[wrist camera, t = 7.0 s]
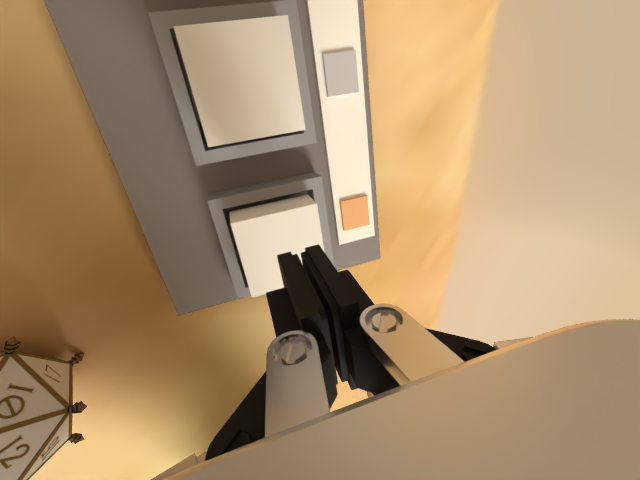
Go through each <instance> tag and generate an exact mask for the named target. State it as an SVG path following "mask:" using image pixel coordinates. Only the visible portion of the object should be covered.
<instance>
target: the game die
mask: <svg viewBox="0 0 640 480" xmlns="http://www.w3.org/2000/svg"><path fill="white" fill-rule="evenodd" d="M18 344H20V342H18V341H17V340H16V338H15V337H14V336H13V337H12V338H11V339H9V340H8V341H6V343H5V348H4V350H6V351H5V352H0V480H29V479H30V478H31V477H32V476H33V475H34V474H35V473H36V472H37V471H38V470H39V469H40V468H41V467H42V466H43V465H44V464H45V463H46V462H47V461H48V460H49V459H50V458H51V457H52V456H53V455H54V454H55V453H56V452H57V451H58V450H59V449H60V448H61V447H62V446H63V445H64V444H65V443H66V442H67V441H68V440H69V441H71V443H72V442H74V443H75V444H76V443H77V442H79V441H82V440H84V438H83V436H82V434H78V433H74V434H72V413H82V411H83V410H84V409H85V408H86V407H87V405H85V404H83V402H82V401H81V402H79V403H77V402H76V403H75V404H74V405H73V375H72V366H73V365H74V364H76V363H79V361H82V358H83V356H84V353H83V354H75V356H74V357H72V359H71V360H70V361H63V360H58V359H53V358H47V357H42V356H37V355H32V354H27V353H22V352H17V351H15V349H16V348H18V347H19V346H18Z"/></svg>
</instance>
